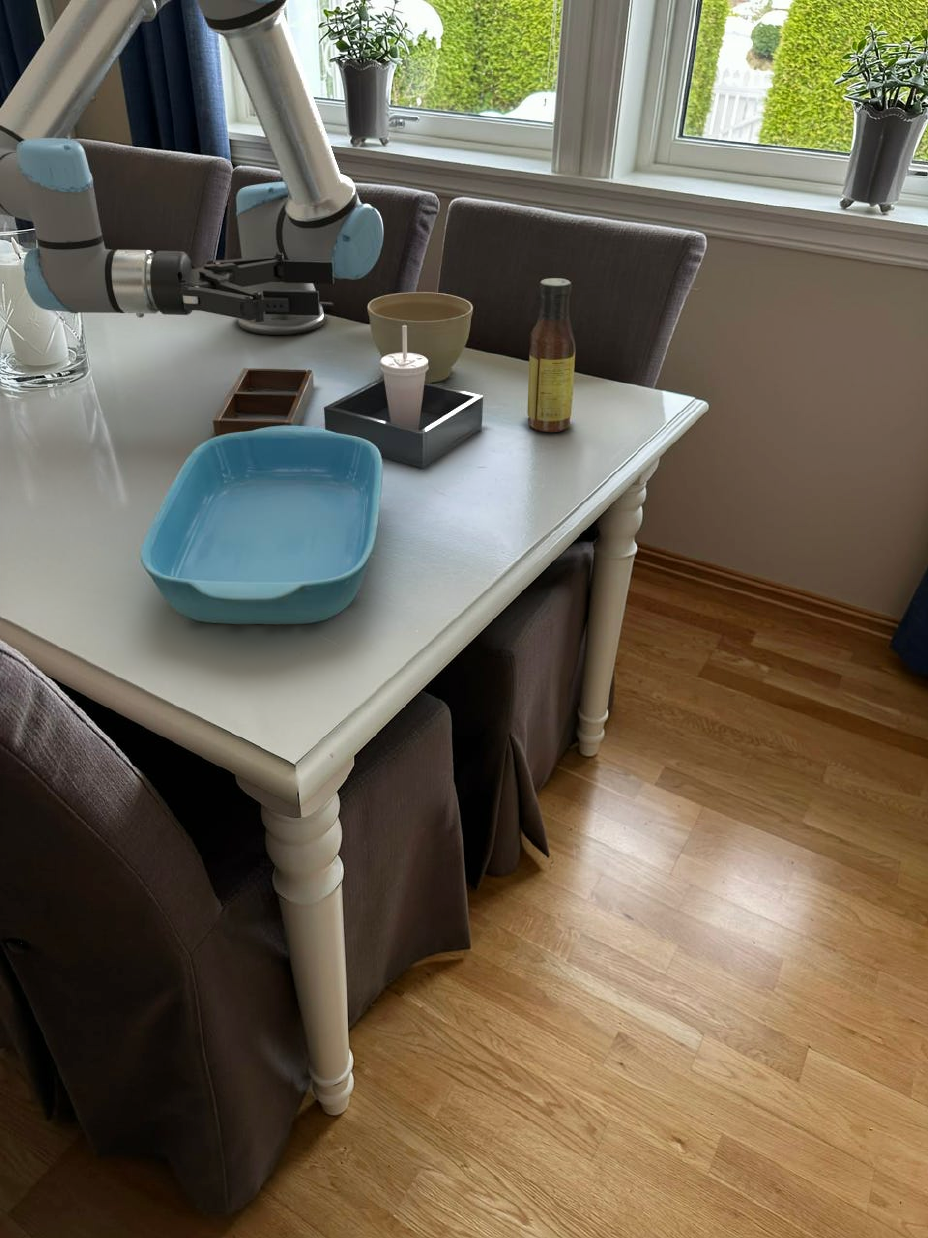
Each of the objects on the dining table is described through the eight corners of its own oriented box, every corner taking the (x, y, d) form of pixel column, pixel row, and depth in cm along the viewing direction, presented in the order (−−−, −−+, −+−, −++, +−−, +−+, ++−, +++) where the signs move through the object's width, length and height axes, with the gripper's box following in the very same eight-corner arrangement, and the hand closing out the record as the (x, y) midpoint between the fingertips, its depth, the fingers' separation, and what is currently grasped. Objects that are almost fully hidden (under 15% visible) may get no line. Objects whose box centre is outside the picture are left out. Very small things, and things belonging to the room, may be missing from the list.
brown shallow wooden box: (246, 387, 137) (243, 367, 136) (314, 388, 137) (312, 369, 136) (215, 441, 121) (212, 420, 119) (293, 443, 121) (291, 422, 119)
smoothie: (431, 421, 126) (431, 321, 118) (424, 440, 121) (425, 336, 113) (386, 418, 127) (383, 318, 119) (378, 437, 122) (374, 333, 114)
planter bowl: (477, 362, 149) (480, 294, 143) (460, 397, 136) (462, 325, 130) (383, 353, 151) (382, 287, 145) (357, 387, 138) (354, 316, 132)
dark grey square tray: (390, 404, 133) (389, 373, 130) (482, 428, 127) (483, 395, 124) (325, 440, 122) (323, 407, 119) (422, 468, 116) (422, 433, 113)
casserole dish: (372, 656, 83) (369, 592, 79) (127, 655, 82) (112, 590, 78) (389, 478, 113) (387, 424, 109) (210, 476, 112) (202, 422, 108)
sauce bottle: (578, 425, 129) (593, 282, 117) (551, 438, 125) (564, 291, 113) (543, 413, 132) (554, 272, 121) (515, 424, 128) (524, 280, 117)
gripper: (187, 285, 125) (339, 289, 126) (132, 345, 105) (314, 350, 105) (178, 228, 121) (336, 232, 121) (119, 279, 101) (309, 283, 101)
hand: (326, 287), depth 113 cm, fingers open, 13 cm apart
